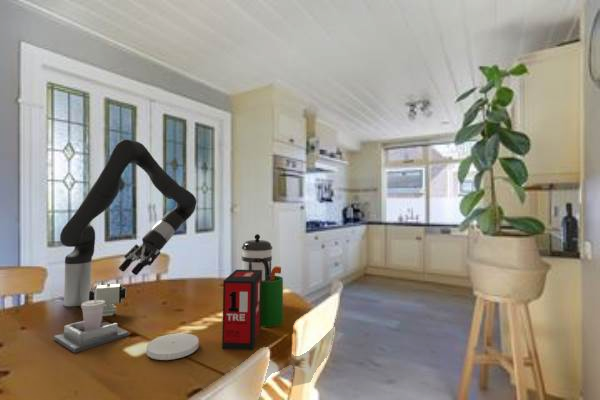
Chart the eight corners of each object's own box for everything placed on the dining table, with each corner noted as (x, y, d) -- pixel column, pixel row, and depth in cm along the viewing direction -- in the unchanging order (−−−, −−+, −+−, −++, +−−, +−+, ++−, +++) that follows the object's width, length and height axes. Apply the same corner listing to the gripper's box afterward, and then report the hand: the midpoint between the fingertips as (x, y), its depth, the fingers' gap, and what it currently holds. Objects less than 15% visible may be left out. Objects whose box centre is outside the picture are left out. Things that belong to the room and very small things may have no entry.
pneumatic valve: (124, 314, 121) (125, 283, 122) (88, 319, 116) (89, 286, 117) (125, 310, 126) (126, 279, 127) (90, 314, 121) (91, 282, 122)
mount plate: (53, 339, 99) (54, 326, 99) (105, 325, 111) (106, 313, 111) (74, 353, 90) (75, 338, 90) (128, 335, 102) (128, 322, 102)
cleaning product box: (252, 350, 94) (253, 281, 94) (222, 349, 94) (223, 280, 94) (261, 328, 110) (262, 270, 110) (235, 327, 110) (236, 269, 111)
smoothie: (108, 332, 102) (110, 287, 102) (88, 339, 96) (89, 292, 97) (96, 328, 105) (97, 285, 105) (75, 335, 99) (77, 289, 99)
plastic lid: (145, 367, 83) (145, 358, 83) (147, 345, 96) (147, 337, 96) (201, 358, 89) (201, 348, 89) (195, 338, 102) (195, 330, 102)
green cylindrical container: (258, 317, 121) (259, 264, 121) (282, 316, 122) (283, 263, 122) (257, 327, 111) (258, 269, 111) (283, 326, 112) (284, 269, 112)
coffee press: (229, 309, 129) (230, 235, 129) (249, 299, 144) (251, 232, 144) (267, 315, 122) (268, 237, 123) (285, 304, 137) (286, 234, 138)
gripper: (141, 228, 121) (108, 262, 111) (163, 230, 113) (130, 267, 103) (154, 240, 125) (124, 275, 116) (176, 243, 117) (145, 281, 107)
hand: (127, 271), depth 109 cm, fingers open, 8 cm apart
